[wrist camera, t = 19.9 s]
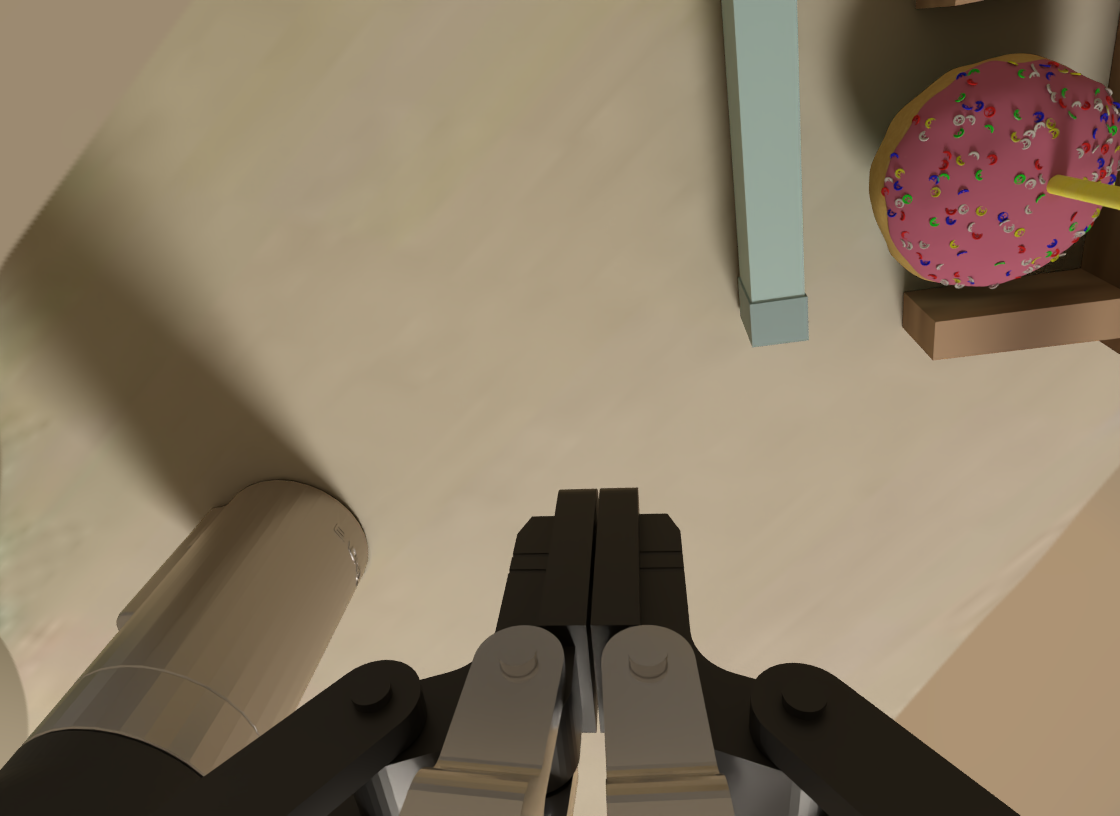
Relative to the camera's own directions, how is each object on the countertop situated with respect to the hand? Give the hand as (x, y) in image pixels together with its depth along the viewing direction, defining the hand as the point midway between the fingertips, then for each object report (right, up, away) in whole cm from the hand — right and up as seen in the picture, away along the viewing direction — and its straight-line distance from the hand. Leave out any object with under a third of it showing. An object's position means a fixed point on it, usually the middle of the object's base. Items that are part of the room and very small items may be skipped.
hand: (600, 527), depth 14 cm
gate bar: (+8, +13, +18) cm, 24 cm away
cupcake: (+16, +13, +18) cm, 27 cm away
